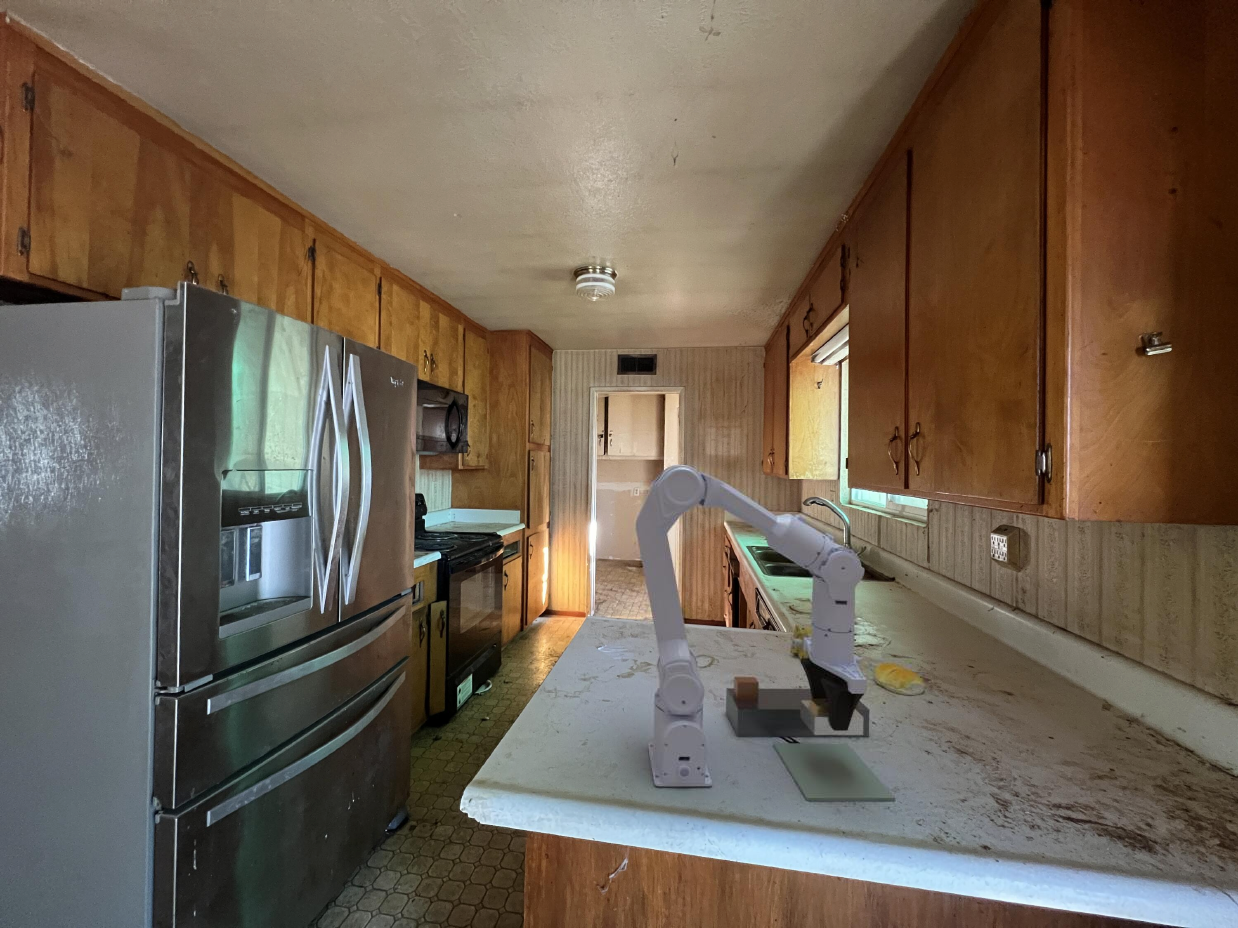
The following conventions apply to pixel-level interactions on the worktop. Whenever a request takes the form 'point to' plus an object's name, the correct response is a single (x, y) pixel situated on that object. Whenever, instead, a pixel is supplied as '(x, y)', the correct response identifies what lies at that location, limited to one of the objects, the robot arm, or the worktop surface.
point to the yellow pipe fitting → (800, 641)
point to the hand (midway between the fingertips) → (830, 718)
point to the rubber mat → (831, 773)
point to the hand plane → (773, 711)
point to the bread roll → (898, 679)
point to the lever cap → (826, 719)
